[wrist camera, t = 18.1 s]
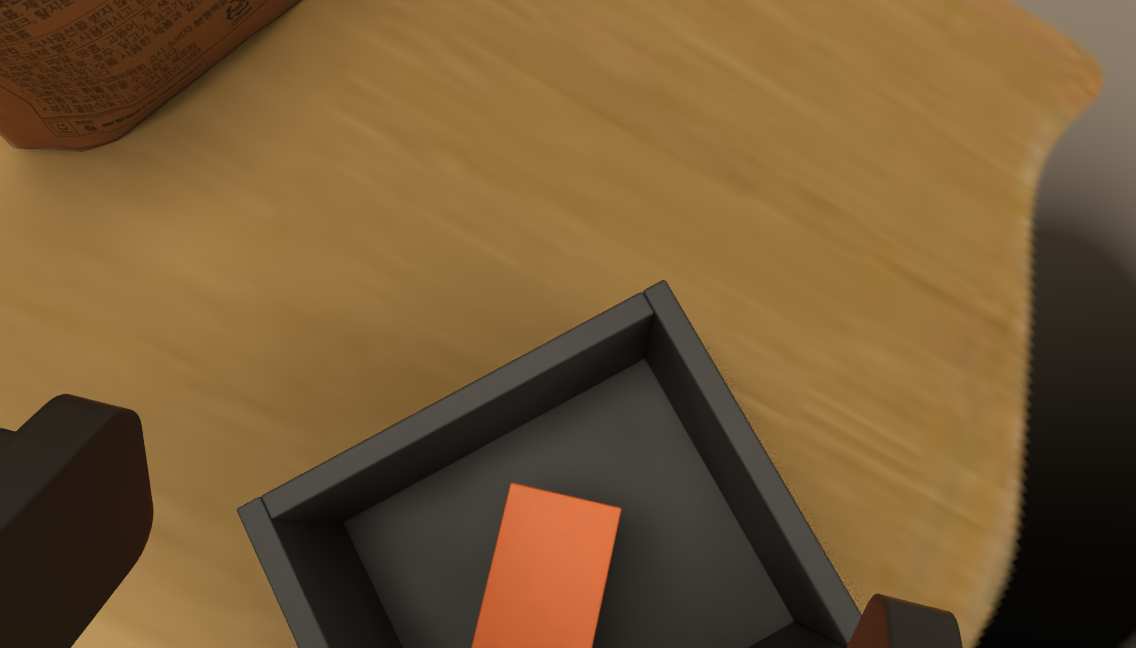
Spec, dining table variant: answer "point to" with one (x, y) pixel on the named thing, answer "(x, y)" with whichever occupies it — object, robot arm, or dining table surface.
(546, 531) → the block
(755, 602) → the trash bin
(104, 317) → the dining table surface
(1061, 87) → the dining table surface
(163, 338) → the dining table surface
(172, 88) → the pancake mix bag
